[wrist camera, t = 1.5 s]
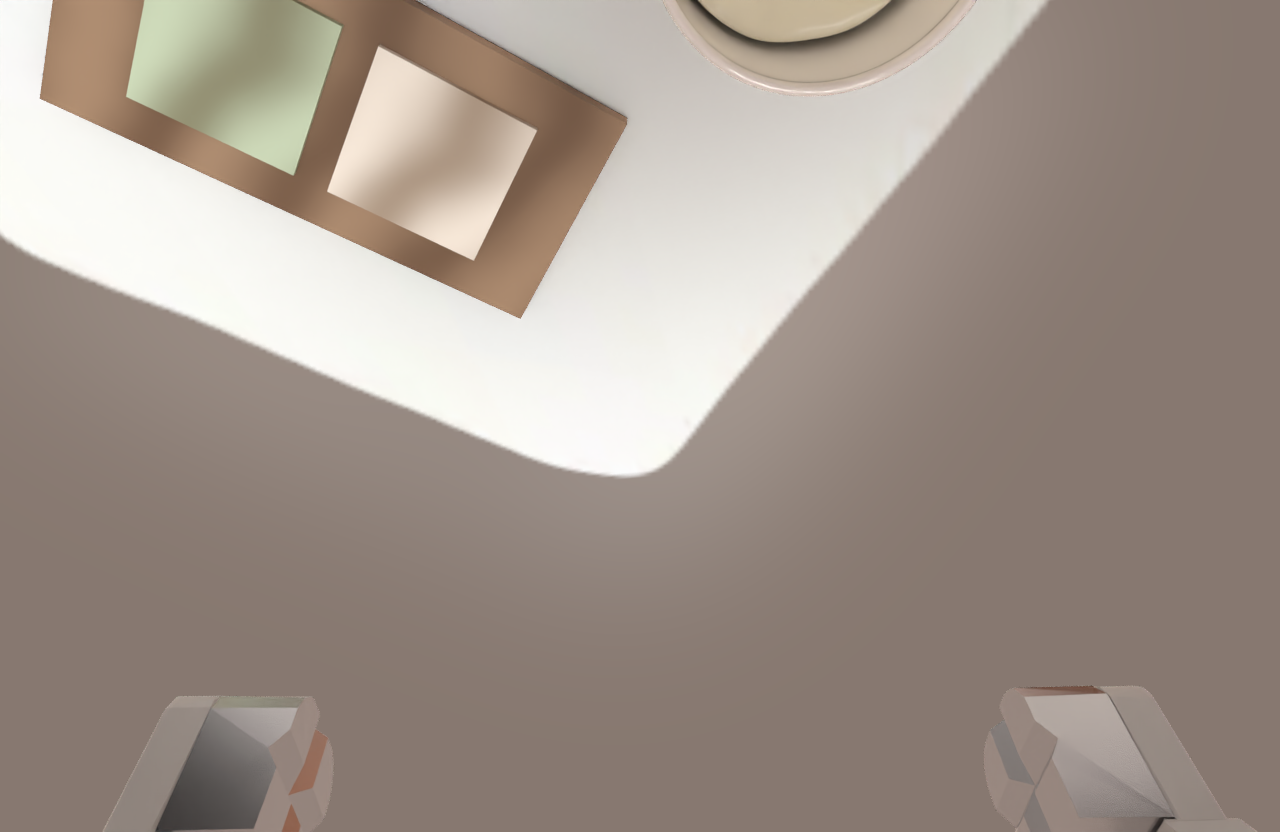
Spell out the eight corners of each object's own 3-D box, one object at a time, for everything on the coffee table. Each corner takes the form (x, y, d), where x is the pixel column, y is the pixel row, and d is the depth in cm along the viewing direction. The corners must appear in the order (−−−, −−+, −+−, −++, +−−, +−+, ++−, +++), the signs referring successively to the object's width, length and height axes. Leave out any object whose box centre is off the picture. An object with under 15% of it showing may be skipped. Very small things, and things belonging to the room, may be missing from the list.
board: (50, 92, 37) (35, 100, 36) (88, -182, 31) (72, -180, 30) (522, 310, 43) (519, 321, 43) (627, 117, 38) (626, 126, 37)
